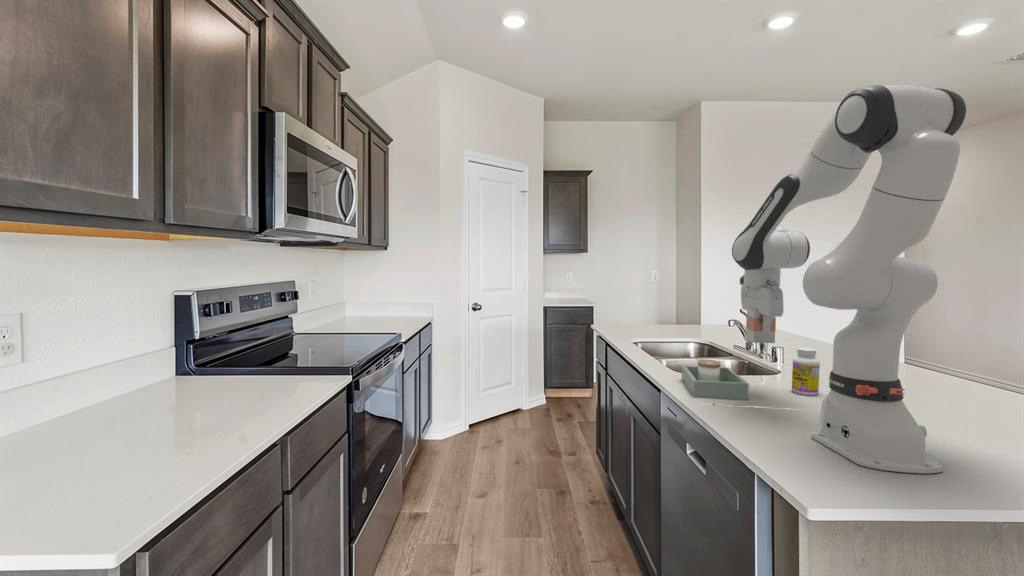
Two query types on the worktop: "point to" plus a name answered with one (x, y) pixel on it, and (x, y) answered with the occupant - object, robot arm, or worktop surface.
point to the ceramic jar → (708, 370)
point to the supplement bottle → (805, 372)
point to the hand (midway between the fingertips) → (760, 329)
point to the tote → (715, 384)
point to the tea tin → (758, 328)
